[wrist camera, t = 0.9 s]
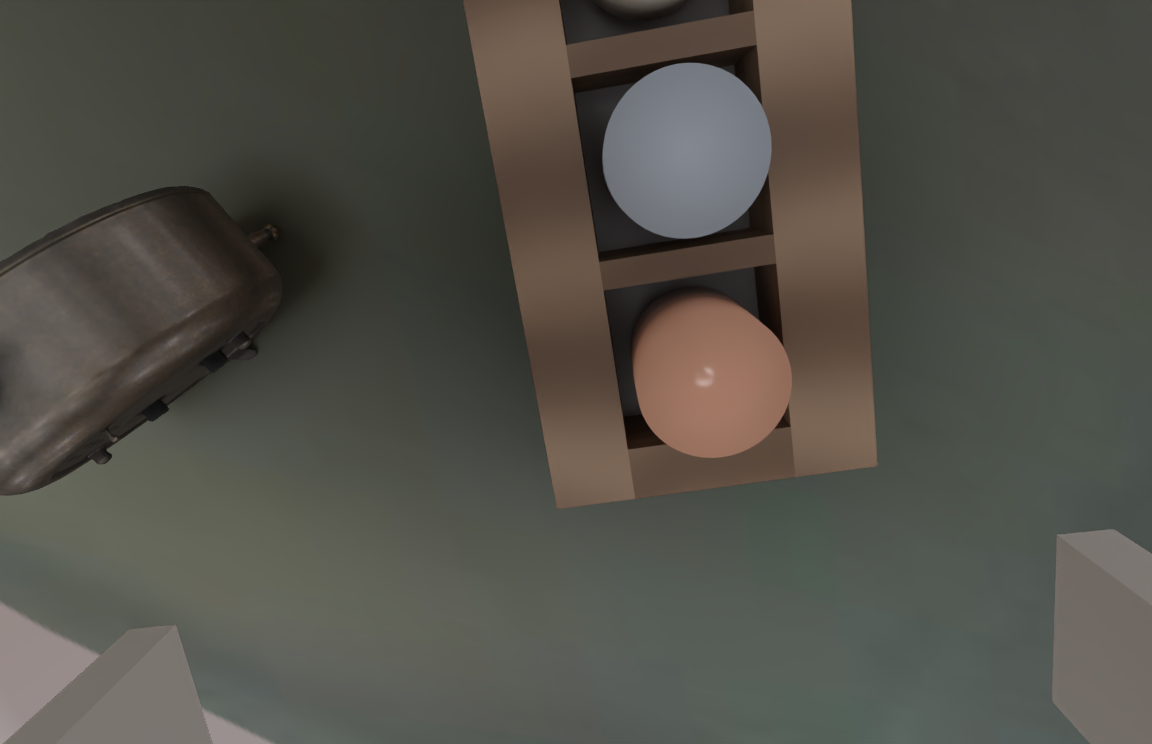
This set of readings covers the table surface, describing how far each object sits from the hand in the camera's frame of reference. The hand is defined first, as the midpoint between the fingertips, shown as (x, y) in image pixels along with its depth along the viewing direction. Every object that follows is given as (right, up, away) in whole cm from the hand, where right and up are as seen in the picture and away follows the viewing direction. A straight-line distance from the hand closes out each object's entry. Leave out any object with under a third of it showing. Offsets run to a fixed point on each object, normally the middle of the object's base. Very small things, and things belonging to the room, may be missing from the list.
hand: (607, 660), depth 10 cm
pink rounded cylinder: (+4, +5, +16) cm, 17 cm away
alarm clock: (-15, +7, +19) cm, 25 cm away
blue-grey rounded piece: (+3, +12, +14) cm, 19 cm away
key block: (+3, +13, +17) cm, 21 cm away
